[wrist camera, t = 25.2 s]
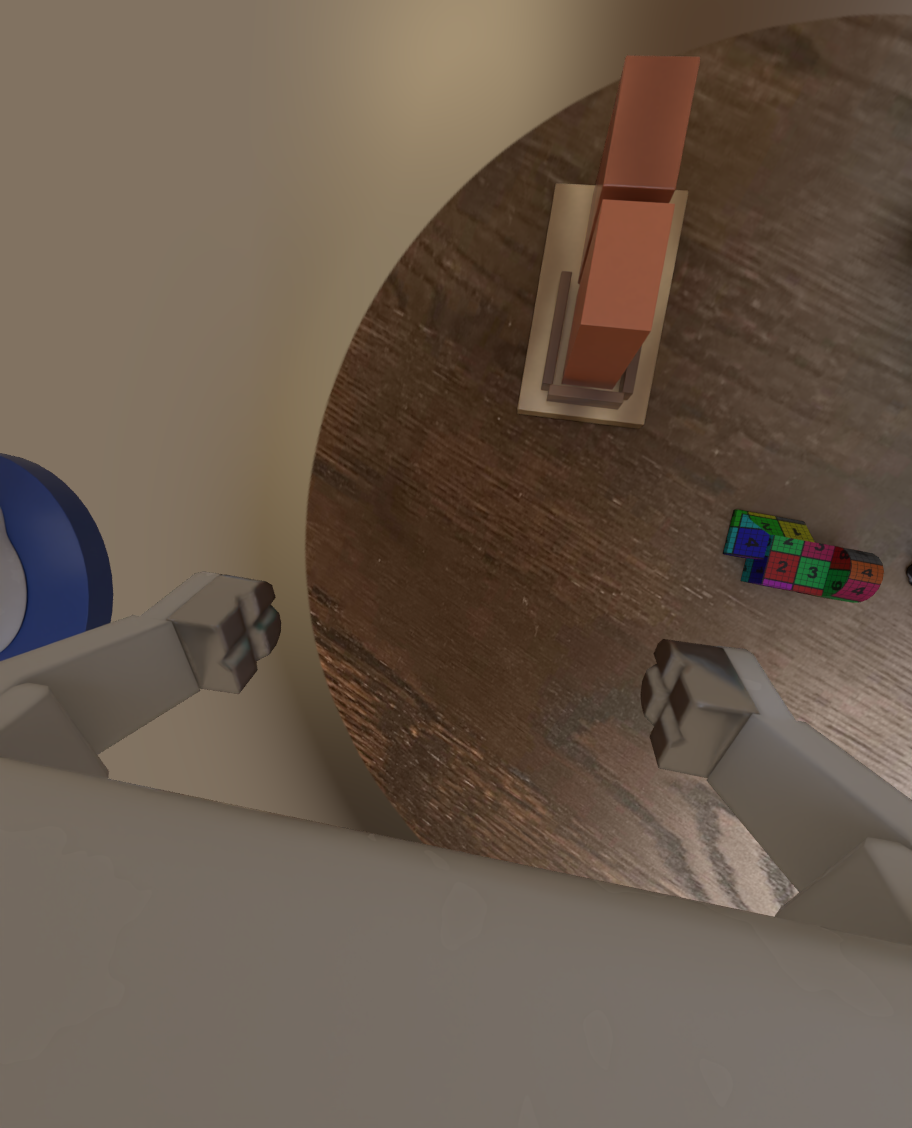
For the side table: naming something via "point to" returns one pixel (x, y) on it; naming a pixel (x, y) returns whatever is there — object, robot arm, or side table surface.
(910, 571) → the stuffed fox
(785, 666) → the side table surface
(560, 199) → the pad base
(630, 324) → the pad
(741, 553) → the numbered block arch
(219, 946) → the robot arm
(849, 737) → the side table surface
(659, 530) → the side table surface
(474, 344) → the side table surface
